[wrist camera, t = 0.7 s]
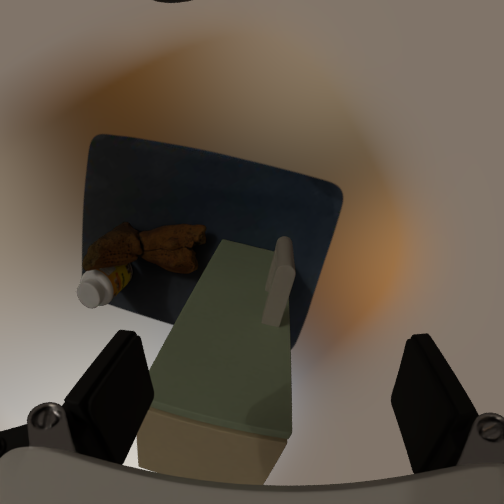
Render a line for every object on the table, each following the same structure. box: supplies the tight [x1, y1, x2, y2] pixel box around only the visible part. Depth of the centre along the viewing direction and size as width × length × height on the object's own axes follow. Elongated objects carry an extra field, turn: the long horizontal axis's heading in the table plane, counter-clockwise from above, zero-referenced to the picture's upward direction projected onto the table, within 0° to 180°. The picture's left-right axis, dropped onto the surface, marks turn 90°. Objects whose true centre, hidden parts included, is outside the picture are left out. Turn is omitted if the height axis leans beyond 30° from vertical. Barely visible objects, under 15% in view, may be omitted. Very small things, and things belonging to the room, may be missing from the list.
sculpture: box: [82, 222, 206, 274], centre depth 42 cm, size 8×10×15 cm
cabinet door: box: [149, 237, 295, 439], centre depth 30 cm, size 6×9×31 cm
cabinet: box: [137, 407, 287, 485], centre depth 33 cm, size 8×9×31 cm
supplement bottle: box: [77, 263, 132, 308], centre depth 44 cm, size 6×6×10 cm
